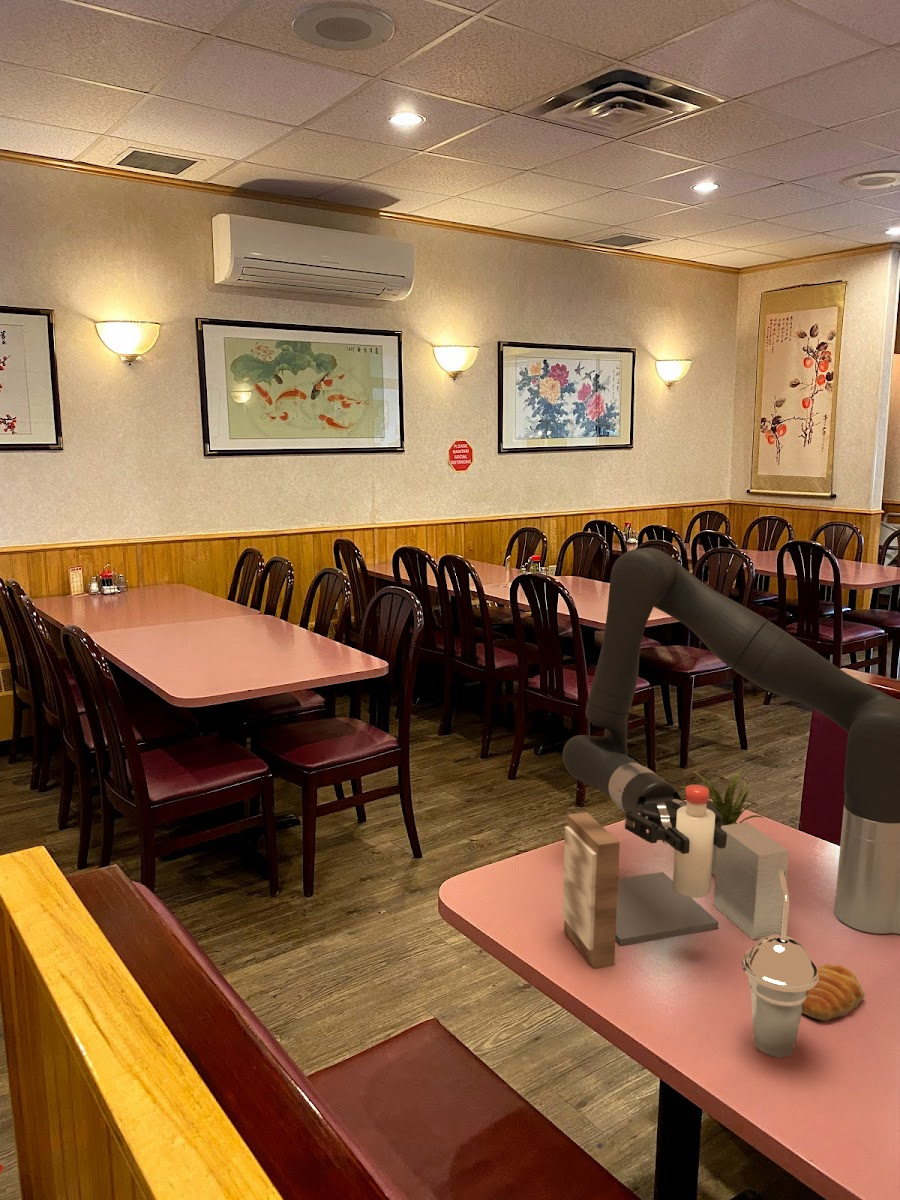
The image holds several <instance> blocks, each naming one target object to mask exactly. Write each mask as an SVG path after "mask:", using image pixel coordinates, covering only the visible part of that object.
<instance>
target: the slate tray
mask: <svg viewBox="0 0 900 1200" xmlns="http://www.w3.org/2000/svg"><path fill="white" fill-rule="evenodd" d="M718 929H719V921H718V920H717V919H716V918H715V917H714V916H712V915H711V914H710V913H709V912H708V911H707V910H706V909H705V908H703V907H702V905H700V904H699V903H698V902H697V901H696V900H695V899H694V898H693V897H687V896H684V895H681V894H679V893H677V892H676V891H675V890H674V889H673V879H671V878H670V876H668V875H667V874H666V873H665V872H664V871H658V872H653V873H648V874H647V873H646V874H641V875H632V876H627V877H621V878H618V888H617V912H616V936H615V943H617V945H619V946H626V945H627V946H628V945H631V944H638V943H644V942H649V941H654V940H660V939H665V938H670V937H676V936H682V935H689V934H694V933H699V932H704V931H712V930H718Z"/></svg>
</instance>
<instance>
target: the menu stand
mask: <svg viewBox="0 0 900 1200" xmlns="http://www.w3.org/2000/svg"><path fill="white" fill-rule="evenodd" d="M566 822H567V823H566V824H567V825H566V826H564V848H563V851H564V852H563V875H562V876H563V878H562V879H563V882H562V909H561V910H562V913H561V914H562V915H561V917H562V919H563V921H564V922H563V924H564V925H563V931H564V932H565V933H566V935H567V936H568V937H569V938H570V940H571V941H572V942H573V943H574V945H575V946H576V947H577V949H578V950H579V951H580V953H581V954H582V955H583V956H584V957H585V959H586V960H587V961H588V962H589V964H590V965H591V966H592V968H593V969H599V968H604V967H611V966H615V959H616V958H615V957H616V956H615V955H616V941H615V936H616V912H617V888H618V879H619V859H620V841H618V839H616V837H614V835H612V833H610V832H609V831H608V830H607V829H606V828H605V827H603V825H601V823H600V822H598V821H597V820H596V819H595V818H594V817H593V816H592V815H590V813H589V812H579V813H570V814H568V815H567V821H566Z"/></svg>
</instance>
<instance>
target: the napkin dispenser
mask: <svg viewBox="0 0 900 1200" xmlns="http://www.w3.org/2000/svg"><path fill="white" fill-rule="evenodd" d="M721 829H722V830H723V831H725V832H726V833H727V842H726V847H725V848H721V849H719V848H718V847H717V857H716V873H715V876H714V877H715V878H714V889H713V890H714V891H713V892H714V893H713V906H714V907H715V908H716V909H717V910H718V911H720V913H722V914H723V915H724V916H725V917H726V918H728V919H729V921H730V922H732V923H733V924H734V925H735V926H736V927H738V928H739V929H740V931H742V932H743V933H745V935H747V936H748V937H749V938H750V939H751V940H759V939H761V938H762V937H764V936H767V935H771V934H780V932H781V920H782V908H783V894H782V888H781V882H780V876H779V871H780V870H784V871H785V876H786V881H787V880H788V879H787V878H788V868H789V853H790V851H789V849H787V848H786V847H784V846H782V845H781V844H779V843H778V842H777V841H775V840H773V839H772V838H771V837H770V836H768V835H766V834H765V833H763V832H762V831H760V830H759V829H758V828H756V827H755V826H754V825H752V824H750V823H748V822H747V821H746V822H742V823H740V822H739V823H738V822H737V824H731V825H724V826H721Z"/></svg>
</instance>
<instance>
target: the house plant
mask: <svg viewBox="0 0 900 1200" xmlns="http://www.w3.org/2000/svg"><path fill="white" fill-rule="evenodd" d="M693 773H694V774H696V775H697V776H698V777H699V778H700V779H701V780H702V781H703V783H704V784H705V785H704V786H705V787H707V788H708V789H709V798H711V800H710V799H708V801H709V802H711V804H712V805H713V806H714V807H715V808H716V810H717V811H718V812H719V813H720V814H721V815H722V823H721V826H724V825H731V824H738V822H737V821H738V820H739V818H740V816H741V815H742V814H744V813H743V812H745V811H746V809H748V808H749V807H751V806H752V804H754V803H755V802H757V801H759V800H760V798H758V799H756V800H754V801H752V802H751V803H750V804H749V805H748V804H745V805H744V803H745V802H746V799H747V798H748V796H749V792H750V790H751V787H752V786H751V785H750V786H749V787H748V788H747V790H746V789H745V787H746V785H747V783H746V782H747V780H745V781H744V783H743V785H742V786H741V788H740V791H739V792H738V795H737V797H736V799H735V802H734V800H733V799H734V796H735V792H736V788H737V785H738V783H739V781H741V780H742V778H741V777H740V778H739V776H740V774H741V771H740V770H739V771H737V772H736V773H735V774H734V775H733V777H732V779H731V780H730V781H731V782H730V783H729V786H728V787H727V789H726V791H725V794H724V799H723V798H722V796H721V794H720V792H719V791H718V789H716V787H715V786H714V785H713V783H711V782H710V781H709V780H707V779H706V778H705V777H704V776H702V775H701V774H699V773H698V772H695V771H693ZM678 787H680V788H685V789H686V787H687V786H682V785H679V786H678ZM745 790H746V791H745ZM744 791H745V793H744ZM733 802H734V804H733ZM745 806H746V807H745ZM752 818H761V819H764V817H763V816H761V815H758V814H756V815H751V816H747V817H745V818H743V819H742V820H741V821H739V823H744V821H746V820H748V819H752ZM716 857H717V846H715V845H714V844H713V858H712V873H711V876H714V877H715V873H716Z"/></svg>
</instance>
